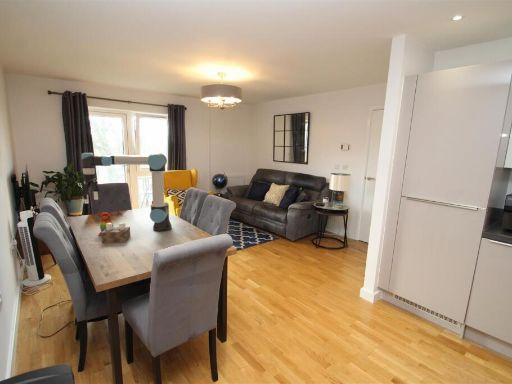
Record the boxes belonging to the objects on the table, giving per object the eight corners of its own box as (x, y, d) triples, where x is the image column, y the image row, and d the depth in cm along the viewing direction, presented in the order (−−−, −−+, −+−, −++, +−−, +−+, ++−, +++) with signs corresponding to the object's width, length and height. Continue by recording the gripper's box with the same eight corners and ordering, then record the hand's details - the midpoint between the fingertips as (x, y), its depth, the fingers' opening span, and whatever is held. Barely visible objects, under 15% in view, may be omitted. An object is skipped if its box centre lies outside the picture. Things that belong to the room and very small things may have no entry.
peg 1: (113, 232, 200) (112, 222, 198) (111, 234, 196) (111, 224, 194) (108, 232, 199) (107, 222, 198) (105, 234, 195) (105, 224, 194)
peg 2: (126, 232, 201) (125, 222, 200) (124, 233, 197) (124, 223, 196) (120, 232, 200) (120, 222, 199) (119, 233, 196) (118, 224, 195)
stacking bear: (97, 236, 205) (95, 214, 202) (101, 232, 215) (99, 211, 212) (113, 235, 208) (111, 213, 205) (116, 231, 218) (114, 210, 215)
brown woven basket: (130, 236, 206) (129, 226, 205) (125, 242, 194) (124, 231, 193) (108, 237, 203) (107, 227, 202) (102, 243, 192) (101, 232, 190)
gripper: (92, 172, 209) (95, 198, 213) (73, 175, 185) (76, 205, 188) (102, 172, 210) (104, 198, 213) (84, 175, 185) (87, 205, 189)
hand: (91, 201), depth 201 cm, fingers open, 13 cm apart
